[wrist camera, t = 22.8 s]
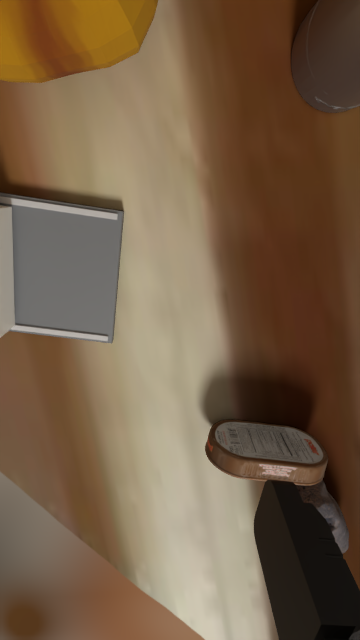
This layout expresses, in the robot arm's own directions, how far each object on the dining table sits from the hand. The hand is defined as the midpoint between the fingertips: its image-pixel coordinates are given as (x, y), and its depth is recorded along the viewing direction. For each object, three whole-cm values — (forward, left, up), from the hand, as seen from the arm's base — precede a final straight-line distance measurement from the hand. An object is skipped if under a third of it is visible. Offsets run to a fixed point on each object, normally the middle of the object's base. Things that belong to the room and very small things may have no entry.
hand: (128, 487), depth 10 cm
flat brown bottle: (+20, +16, -30) cm, 40 cm away
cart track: (+2, -18, -30) cm, 35 cm away
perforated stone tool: (+31, +27, -30) cm, 51 cm away
